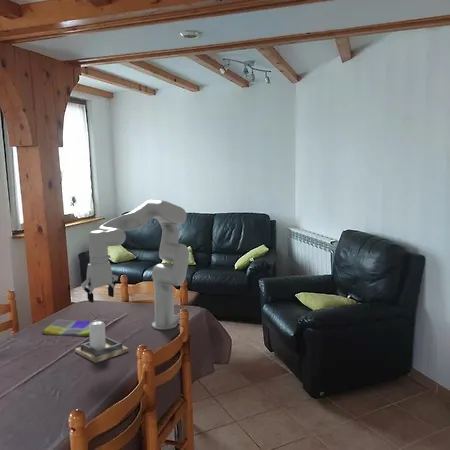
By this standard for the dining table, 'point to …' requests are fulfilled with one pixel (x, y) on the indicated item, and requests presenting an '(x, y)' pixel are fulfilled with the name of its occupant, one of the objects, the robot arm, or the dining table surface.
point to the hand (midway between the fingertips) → (101, 299)
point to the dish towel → (68, 328)
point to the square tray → (96, 356)
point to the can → (97, 335)
